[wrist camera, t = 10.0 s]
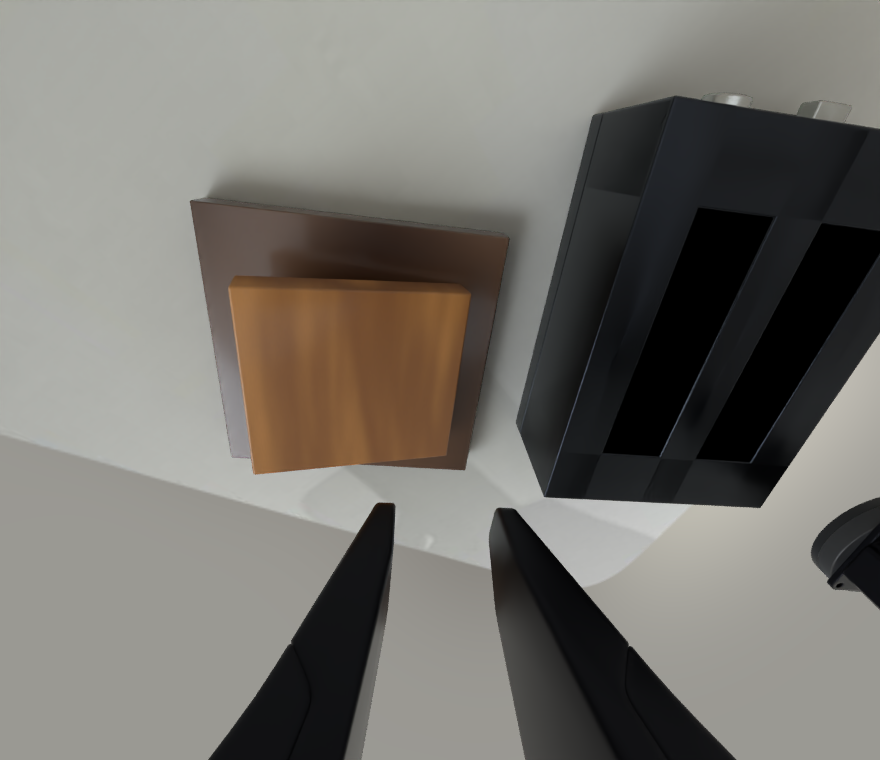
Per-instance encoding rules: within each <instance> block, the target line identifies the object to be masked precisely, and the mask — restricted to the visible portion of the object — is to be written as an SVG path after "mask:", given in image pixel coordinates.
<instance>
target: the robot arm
mask: <svg viewBox="0 0 880 760" xmlns="http://www.w3.org/2000/svg"><path fill="white" fill-rule="evenodd" d="M394 528H395V504H393V503H377V504H376V505H375V506H374V508H373V510H372V511H371V513H370V514H369V516H368V518H367V519H366V521H365V522H364V524H363V526H362V527H361V529H360V531H359V532H358V534H357V535H356V537H355V539H354V540H353V542H352V544H351V545H350V547H349V548H348V550H347V551H346V553H345V555H344V556H343V558H342V560H341V561H340V563H339V564H338V566H337V568H336V569H335V571H334V572H333V574H332V576H331V577H330V579H329V581H328V582H327V584H326V585H325V587H324V589H323V590H322V592H321V594H320V595H319V597H318V598H317V600H316V601H315V603H314V605H313V606H312V608H311V610H310V611H309V613H308V615H307V616H306V618H305V619H304V621H303V622H302V624H301V626H300V627H299V629H298V631H297V632H296V634H295V636H294V637H293V639H292V640H291V644H290V645H288V646H287V648H286V649H285V651H284V653H283V654H282V656H281V658H280V659H279V661H278V662H277V664H276V666H275V667H274V669H273V670H272V672H271V673H270V675H269V676H268V678H267V679H266V681H265V682H264V684H263V685H262V687H261V689H260V690H259V692H258V693H257V694H256V696H255V697H254V699H253V700H252V702H251V703H250V704H249V706H248V707H247V708H246V710H245V711H244V713H243V714H242V715H241V717H240V718H239V719H238V721H237V722H236V724H235V725H234V726H233V728H232V729H231V730H230V732H229V733H228V735H227V736H226V737H225V738H224V740H223V741H222V742H221V744H220V745H219V746H218V748H217V749H216V750H215V752H214V753H213V754H212V755H211V757H210V758H209V759H208V760H361V758H362V753H363V747H364V741H365V736H366V730H367V725H368V719H369V713H370V708H371V702H372V697H373V691H374V686H375V680H376V674H377V669H378V663H379V657H380V652H381V646H382V641H383V635H384V630H385V624H386V618H387V611H388V602H389V591H390V579H391V569H392V568H391V567H392V557H393V547H394ZM489 548H490V558H491V569H492V580H493V590H494V601H495V610H496V616H497V622H498V627H499V632H500V637H501V642H502V646H503V652H504V656H505V661H506V666H507V671H508V676H509V681H510V686H511V691H512V696H513V701H514V706H515V711H516V716H517V721H518V726H519V730H520V736H521V741H522V746H523V750H524V755H525V760H736V759H735V758H734V757H733V756H732V755H731V754H730V753H729V752H728V751H727V750H726V749H725V748H724V747H723V745H721V743H720V742H719V741H717V739H716V738H715V737H714V736H713V735H712V734H711V733H710V732H709V731H708V730H707V729H706V728H705V727H704V726H703V725H702V724H701V723H700V722H699V721H698V720H697V719H696V718H695V717H694V716H693V715H692V713H690V711H689V710H688V709H687V708H686V707H685V706H684V705H683V704H682V703H681V702H680V701H679V700H678V699H677V698H676V697H675V696H674V694H672V692H671V691H670V690H669V689H668V688H667V687H666V686H665V684H664V683H663V682H662V681H661V680H660V679H659V678H658V676H657V675H656V674H655V673H654V672H653V671H652V670H651V669H650V667H649V666H648V665H647V664H646V663H645V662H644V660H643V659H642V658H641V657H640V656H639V655H638V653H637V652H636V651H635V650H634V649H633V647H631V646H629V644H628V642H627V641H626V639H625V638H624V637H623V636H622V635H621V634H620V632H619V631H618V630H617V629H616V628H615V627H614V625H613V624H612V623H611V622H610V621H609V619H608V618H607V617H606V616H605V615H604V614H603V612H602V611H601V610H600V609H599V608H598V607H597V605H596V604H595V603H594V602H593V601H592V600H591V598H590V597H589V596H588V595H587V594H586V592H585V591H584V590H583V589H582V588H581V586H580V585H579V584H578V583H577V582H576V580H575V579H574V578H573V577H572V576H571V575H570V573H569V572H568V571H567V570H566V569H565V568H564V566H563V565H562V564H561V563H560V562H559V560H558V559H557V558H556V557H555V556H554V555H553V553H552V552H551V551H550V550H549V549H548V547H547V546H546V545H545V544H544V543H543V542H542V540H541V539H540V538H539V537H538V536H537V534H536V533H535V532H534V531H533V530H532V529H531V527H530V526H529V525H528V524H527V523H526V522H525V520H524V519H523V518H522V517H521V516H520V514H519V513H518V512H517V511H516V510H515V509H513V508H497V509H496V510H495V513H494V517H493V521H492V525H491V529H490V533H489ZM827 583H828V584H829V585H830V586H831V587H832V588H833V589H835V590H860V591H861V592H862V593H863V594H864V595H865V596H866V597H867V598H868V599H869V600H870V601H871V602H872V603H873V604H874V605H875V606H876V607H878V609H880V523H879V524H878V525H877V526H876V527H875V528H874V529H873V530H872V532H871V533H870V534H869V535H868V536H867V537H866V538H865V539H864V541H863V542H862V543H861V544H860V545H859V546H858V547H857V548H856V549H855V551H854V552H853V553H852V554H851V555H850V556H849V557H848V558H847V559H846V561H845V562H844V563H843V564H842V565H841V566H840V567H839V568H838V569H837V571H836V572H835V573H834V574H833V575H832V576H831V577H830V578H829V579H828V581H827ZM628 646H629V647H628Z"/></svg>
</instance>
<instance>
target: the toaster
mask: <svg viewBox="0 0 880 760" xmlns="http://www.w3.org/2000/svg"><path fill="white" fill-rule="evenodd" d="M752 102H753V98H752V97H750V96H747V95H743V94H735V93H712V94H707V95H704V96H703V97H702V98H701V100H700V99H694V98H687V97H681V96H673V97H668V98H664V99H660V100H656V101H651V102H647V103H643V104H639V105H635V106H630V107H626V108H622V109H618V110H614V111H609V112H605V113H601V114H596V115H593V117H592V121H591V125H590V129H589V133H588V137H587V141H586V145H585V149H584V153H583V157H582V161H581V165H580V169H579V173H578V177H577V181H576V185H575V189H574V193H573V197H572V201H571V205H570V209H569V213H568V217H567V220H566V224H565V228H564V232H563V236H562V240H561V244H560V248H559V252H558V256H557V260H556V264H555V268H554V272H553V276H552V280H551V284H550V288H549V292H548V296H547V300H546V304H545V308H544V312H543V316H542V320H541V324H540V328H539V332H538V336H537V340H536V344H535V348H534V352H533V356H532V360H531V364H530V368H529V372H528V376H527V380H526V384H525V388H524V392H523V396H522V400H521V404H520V408H519V412H518V416H517V420H516V424H517V427H518V430H519V432H520V435H521V437H522V440H523V443H524V445H525V448H526V450H527V453H528V456H529V458H530V461H531V464H532V466H533V469H534V472H535V474H536V477H537V479H538V482H539V485H540V487H541V490H542V493H543V495H544V497H550V498H570V499H592V500H612V501H633V502H653V503H673V504H693V505H715V506H732V507H753V508H760V507H761V506H762V505H763V503H764V502H765V500H766V499H767V497H768V496H769V494H770V493H771V491H772V490H773V488H774V487H775V486H776V484H777V483H778V481H779V480H780V478H781V477H782V475H783V474H784V472H785V471H786V469H787V468H788V466H789V465H790V463H791V462H792V461H793V459H794V458H795V456H796V455H797V453H798V452H799V450H800V449H801V447H802V446H803V444H804V443H805V442H806V440H807V439H808V437H809V436H810V434H811V433H812V431H813V430H814V428H815V427H816V425H817V424H818V423H819V421H820V420H821V418H822V416H823V415H824V413H825V412H826V411H827V409H828V408H829V406H830V405H831V403H832V402H833V401H834V399H835V398H836V396H837V395H838V393H839V392H840V390H841V389H842V387H843V386H844V384H845V383H846V382H847V380H848V379H849V377H850V376H851V374H852V373H853V371H854V370H855V368H856V367H857V365H858V364H859V362H860V361H861V360H862V358H863V357H864V355H865V353H866V352H867V350H868V349H869V348H870V346H871V345H872V343H873V342H874V340H875V339H876V337H877V336H878V335H879V333H880V129H878V128H872V127H866V126H860V125H854V124H847V123H844V122H845V120H846V118H847V116H848V114H849V112H850V110H851V108H852V106H851V105H847V104H841V103H835V102H829V101H823V100H819V101H812V102H805V103H802V104H801V106H800V108H799V110H798V112H797V115H791V114H785V113H779V112H772V111H766V110H760V109H754V108H750V107H751V104H752Z"/></svg>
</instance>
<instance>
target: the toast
mask: <svg viewBox="0 0 880 760" xmlns="http://www.w3.org/2000/svg"><path fill="white" fill-rule="evenodd" d="M228 292H229V299H230V306H231V314H232V321H233V329H234V336H235V343H236V351H237V358H238V365H239V373H240V380H241V387H242V395H243V402H244V409H245V417H246V424H247V432H248V439H249V446H250V454H251V461H252V468H253V473H254V474H265V473H275V472H285V471H295V470H305V469H315V468H326V467H336V466H346V465H356V464H366V463H376V462H386V461H397V460H407V459H417V458H427V457H437V456H446V454H447V448H448V441H449V435H450V429H451V422H452V416H453V410H454V403H455V397H456V390H457V384H458V378H459V371H460V365H461V358H462V352H463V346H464V339H465V333H466V327H467V320H468V314H469V307H470V301H471V293H470V292H469V291H468V290H467V289H465V288H464V287H463V286H462V285H461V284H455V283H427V282H400V281H373V280H346V279H319V278H292V277H265V276H237V275H236V276H234V277H233V279H232V281H231V283H230V285H229V287H228Z"/></svg>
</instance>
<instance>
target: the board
mask: <svg viewBox="0 0 880 760" xmlns="http://www.w3.org/2000/svg"><path fill="white" fill-rule="evenodd" d="M190 204H191V210H192V217H193V223H194V229H195V235H196V241H197V247H198V254H199V260H200V266H201V272H202V278H203V284H204V291H205V297H206V303H207V309H208V315H209V321H210V328H211V334H212V340H213V346H214V352H215V358H216V364H217V371H218V377H219V383H220V389H221V395H222V401H223V408H224V414H225V420H226V426H227V432H228V438H229V445H230V451H231V457H234V458H251V454H250V446H249V439H248V432H247V424H246V417H245V409H244V402H243V395H242V387H241V380H240V373H239V365H238V358H237V351H236V343H235V336H234V329H233V321H232V314H231V306H230V299H229V292H228V287H229V285H230V283H231V281H232V279H233V277H234V276H236V275H237V276H265V277H292V278H319V279H346V280H373V281H400V282H427V283H455V284H461V285H462V286H463V287H464V288H465V289H467V290H468V291H469V292H470V293H471V301H470V307H469V314H468V320H467V327H466V333H465V339H464V346H463V352H462V358H461V365H460V371H459V378H458V384H457V390H456V397H455V403H454V410H453V416H452V422H451V429H450V435H449V441H448V448H447V454H446V456H437V457H427V458H417V459H407V460H397V461H386V462H376V463H366V464H361V465H379V466H397V467H415V468H433V469H451V470H465V468H466V463H467V458H468V453H469V447H470V442H471V437H472V432H473V426H474V421H475V416H476V411H477V406H478V400H479V395H480V390H481V385H482V380H483V374H484V369H485V364H486V359H487V353H488V348H489V343H490V338H491V333H492V327H493V322H494V317H495V312H496V307H497V301H498V296H499V291H500V286H501V280H502V275H503V270H504V265H505V260H506V254H507V249H508V244H509V237H508V236H506V235H505V234H504V233H500V232H491V231H483V230H474V229H466V228H457V227H449V226H440V225H432V224H423V223H415V222H406V221H398V220H390V219H381V218H373V217H364V216H356V215H347V214H339V213H330V212H322V211H313V210H305V209H296V208H288V207H279V206H271V205H262V204H254V203H246V202H237V201H229V200H220V199H212V198H201V199H196V200H191V201H190Z"/></svg>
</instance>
